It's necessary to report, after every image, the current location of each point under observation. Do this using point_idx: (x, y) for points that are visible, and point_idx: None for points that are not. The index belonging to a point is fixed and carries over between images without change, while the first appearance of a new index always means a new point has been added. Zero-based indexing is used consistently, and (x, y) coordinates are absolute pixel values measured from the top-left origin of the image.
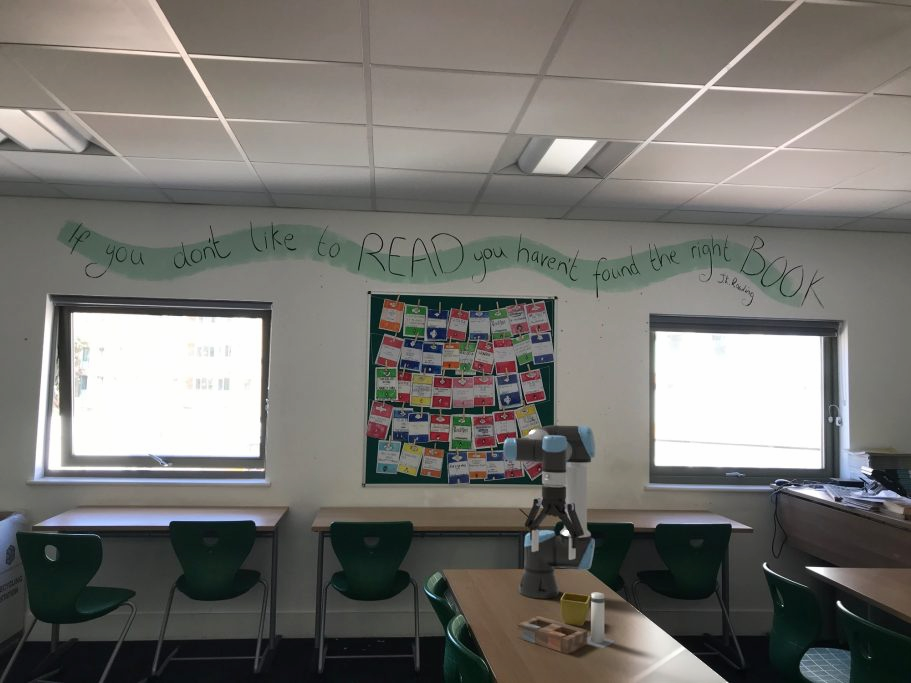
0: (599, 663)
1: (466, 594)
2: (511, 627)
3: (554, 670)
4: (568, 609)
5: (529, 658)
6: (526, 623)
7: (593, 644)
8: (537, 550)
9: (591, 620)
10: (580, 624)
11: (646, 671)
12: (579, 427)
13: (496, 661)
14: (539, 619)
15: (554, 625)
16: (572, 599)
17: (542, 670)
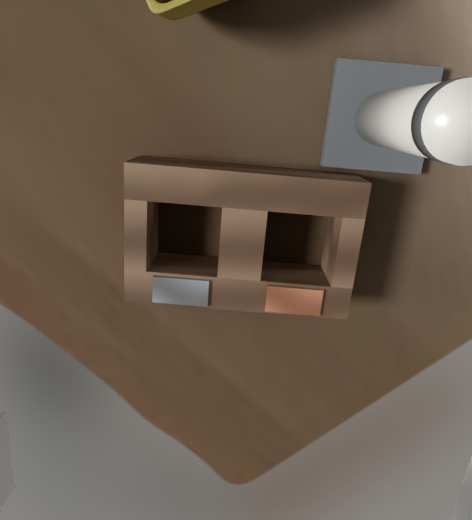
0: (435, 271)
1: None
2: (39, 179)
3: (340, 391)
4: (199, 5)
5: (244, 367)
6: (142, 273)
7: (379, 164)
8: (7, 430)
9: (386, 143)
10: None
11: None
12: None
13: (186, 433)
14: (153, 198)
15: (238, 220)
16: None
17: (313, 409)
